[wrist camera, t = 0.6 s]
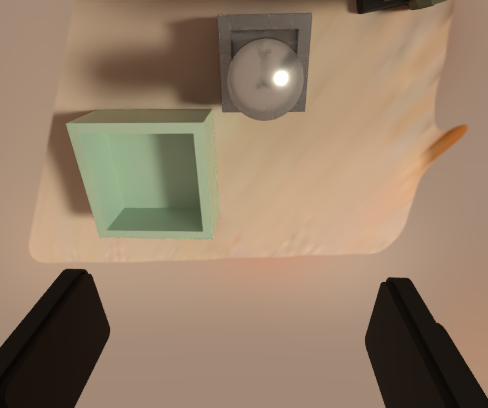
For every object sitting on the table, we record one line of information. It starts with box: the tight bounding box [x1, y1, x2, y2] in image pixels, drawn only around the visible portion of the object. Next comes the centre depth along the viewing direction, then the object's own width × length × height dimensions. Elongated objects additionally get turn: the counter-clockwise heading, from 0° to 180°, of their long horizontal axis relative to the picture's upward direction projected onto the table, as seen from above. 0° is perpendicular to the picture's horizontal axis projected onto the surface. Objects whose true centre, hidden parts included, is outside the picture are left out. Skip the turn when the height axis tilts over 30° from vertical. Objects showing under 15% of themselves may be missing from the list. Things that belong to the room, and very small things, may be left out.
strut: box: [227, 37, 304, 121], centre depth 23 cm, size 4×4×12 cm
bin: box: [66, 109, 219, 239], centre depth 34 cm, size 13×13×6 cm
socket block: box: [217, 13, 312, 112], centre depth 28 cm, size 8×8×5 cm
